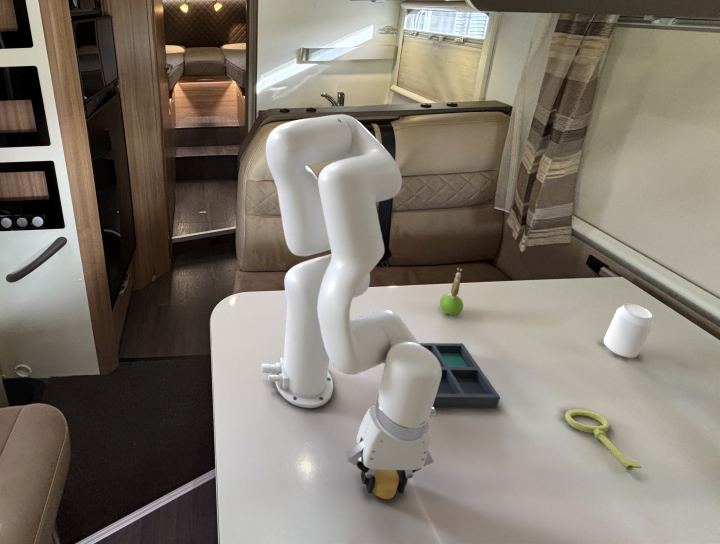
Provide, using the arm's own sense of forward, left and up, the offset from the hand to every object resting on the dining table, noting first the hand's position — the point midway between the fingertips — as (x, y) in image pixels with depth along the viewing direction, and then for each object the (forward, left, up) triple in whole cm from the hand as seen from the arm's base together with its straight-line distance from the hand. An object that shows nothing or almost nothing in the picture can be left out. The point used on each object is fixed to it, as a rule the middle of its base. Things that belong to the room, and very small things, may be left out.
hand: (382, 483), depth 75 cm
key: (+45, +9, -1) cm, 46 cm away
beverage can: (+68, +31, -1) cm, 75 cm away
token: (0, 0, 0) cm, 0 cm away
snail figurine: (+34, +44, -1) cm, 56 cm away
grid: (+22, +22, -1) cm, 32 cm away
